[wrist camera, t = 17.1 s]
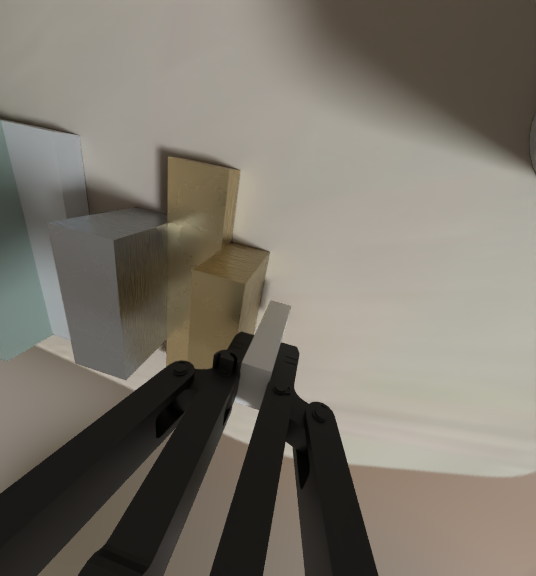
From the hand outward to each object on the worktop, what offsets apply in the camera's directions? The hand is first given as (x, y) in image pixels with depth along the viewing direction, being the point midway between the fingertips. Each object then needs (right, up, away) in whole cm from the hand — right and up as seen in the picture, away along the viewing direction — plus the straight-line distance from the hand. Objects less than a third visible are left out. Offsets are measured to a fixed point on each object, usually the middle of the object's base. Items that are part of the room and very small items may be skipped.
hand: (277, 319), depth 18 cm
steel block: (-10, +4, +4) cm, 11 cm away
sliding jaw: (-5, +2, +3) cm, 6 cm away
